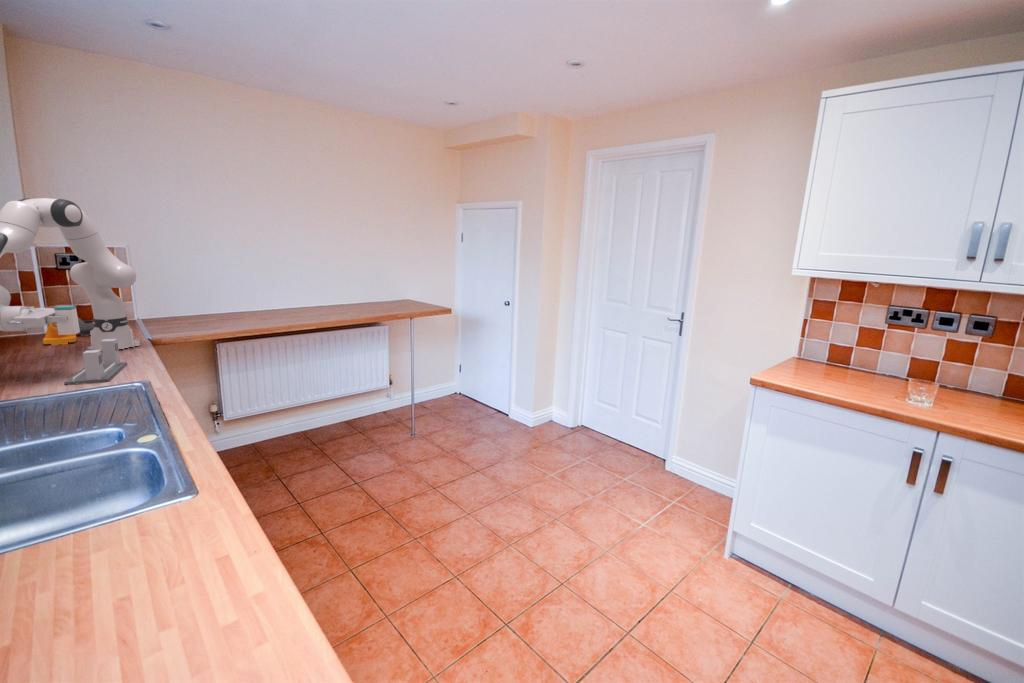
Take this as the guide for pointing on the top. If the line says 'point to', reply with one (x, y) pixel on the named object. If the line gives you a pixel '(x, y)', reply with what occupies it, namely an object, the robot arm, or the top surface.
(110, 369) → the base plate with posts
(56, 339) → the bracket
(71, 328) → the block
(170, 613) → the top surface
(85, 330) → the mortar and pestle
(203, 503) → the top surface
